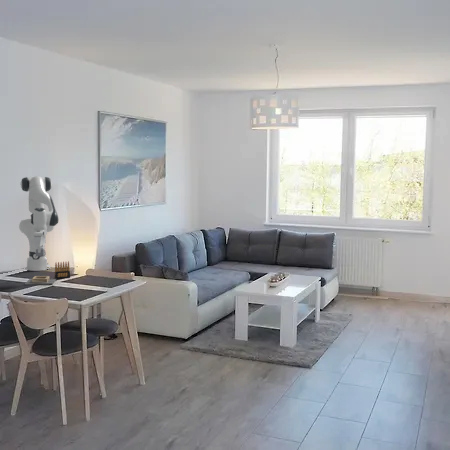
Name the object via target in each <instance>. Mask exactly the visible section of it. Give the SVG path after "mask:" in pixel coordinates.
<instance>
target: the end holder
mask: <svg viewBox="0 0 450 450" xmlns="http://www.w3.org/2000/svg"><path fill="white" fill-rule="evenodd" d="M50 277H51V276H50V275H41V276H40V275H35V276H33V278H29V279H28V280H27V281H26V282H25V283H24V286H52V285H53V284H54V283H56V281H57V279H55V278H50Z"/></svg>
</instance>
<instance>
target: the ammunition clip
mask: <svg viewBox="0 0 450 450" xmlns="http://www.w3.org/2000/svg"><path fill="white" fill-rule="evenodd" d="M54 264H55V265H54V279H56V280H58V279H59V280H60V279H70V278H71V268H70V267H71V266H70V261H69V260H68V261H65V262H64V261H63V262H62V261H61V262H59V261H58V263H57V262H55V263H54Z"/></svg>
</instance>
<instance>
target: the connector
mask: <svg viewBox="0 0 450 450" xmlns="http://www.w3.org/2000/svg"><path fill="white" fill-rule="evenodd" d="M45 249H46V248H45V247H41V253H38V249H37V247H36V256H44V255H45V252H46V250H45ZM45 256H46V255H45Z"/></svg>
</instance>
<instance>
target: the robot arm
mask: <svg viewBox="0 0 450 450" xmlns="http://www.w3.org/2000/svg"><path fill="white" fill-rule="evenodd" d="M52 186H53V182H52V180H51V178H50V177H47V176H45V177H44V176H39V175H38V176H36V175H35V176H30V177H27V176H25V177H23V178H22V179H21V181H20V188H21V190H22V191H23V192H26V193H27V192H28V211H29V212H30V213H31V214H30V218H27V219H23V220H21V221H20V222H19V224H18V228H19V231H20V232H21V233H23V234H24V236H26V238H27V240H28V245H29V251H28V252H29V253H28V255H29V256H28V257H27V259H26V267H24V270H27V271H33V272H34V271H36V272H38V271H40V272H42V271H47V269H48V270H50V269H51V265H50V264H49V262H48V258H47V257H46V255H47V254H46V253H47V252H46V251H45V255H44V256H36V247H37V249H38V253H41V247H45V246H46V241H47V239H46V235H48V233H49V232H53V230H54V229H55V226H57V225H58V223H59V219H60V218H59V215H58V212H57V210H56V207H55V203H54V200H53V198H52V195H50V193H48V192H49V191H50V190H51V189H52ZM45 205H46V206H47V208H48V211H46V209H45ZM47 267H49V268H50V269H49V268H47Z"/></svg>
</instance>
